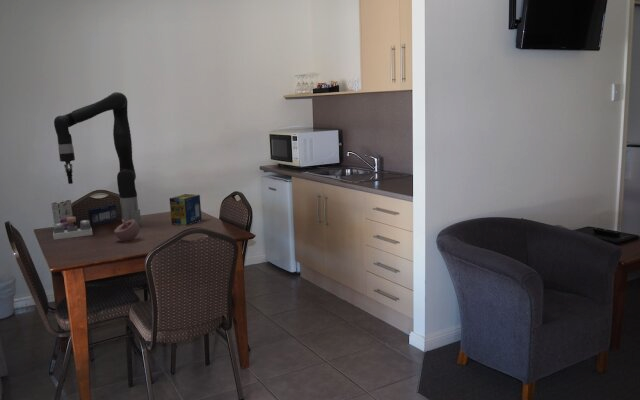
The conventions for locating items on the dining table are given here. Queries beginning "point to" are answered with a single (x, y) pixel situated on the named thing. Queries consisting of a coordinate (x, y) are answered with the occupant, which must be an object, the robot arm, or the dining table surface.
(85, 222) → the plunger
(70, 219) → the dial knob
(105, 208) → the vhs cassette tape
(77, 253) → the dining table surface
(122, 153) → the robot arm
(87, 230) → the grey knob panel
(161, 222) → the dining table surface
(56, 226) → the plunger
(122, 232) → the mortar and pestle
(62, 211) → the candy bar box
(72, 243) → the dining table surface
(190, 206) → the protein box
